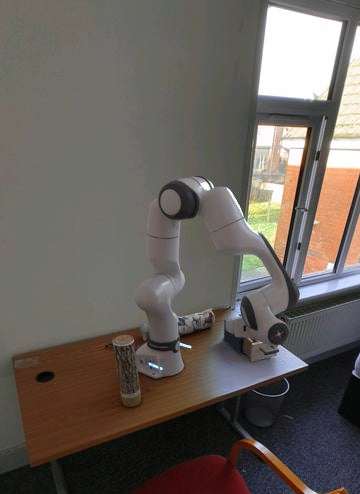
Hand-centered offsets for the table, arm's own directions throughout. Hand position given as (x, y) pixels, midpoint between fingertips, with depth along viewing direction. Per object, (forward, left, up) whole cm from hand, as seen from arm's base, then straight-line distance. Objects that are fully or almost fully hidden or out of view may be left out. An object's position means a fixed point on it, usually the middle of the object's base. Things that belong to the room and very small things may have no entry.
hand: (247, 323), depth 135 cm
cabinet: (-6, +17, -18) cm, 25 cm away
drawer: (+3, +9, -17) cm, 20 cm away
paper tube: (-28, -40, -19) cm, 52 cm away
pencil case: (-32, +18, -19) cm, 42 cm away
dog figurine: (-46, +5, -19) cm, 50 cm away
